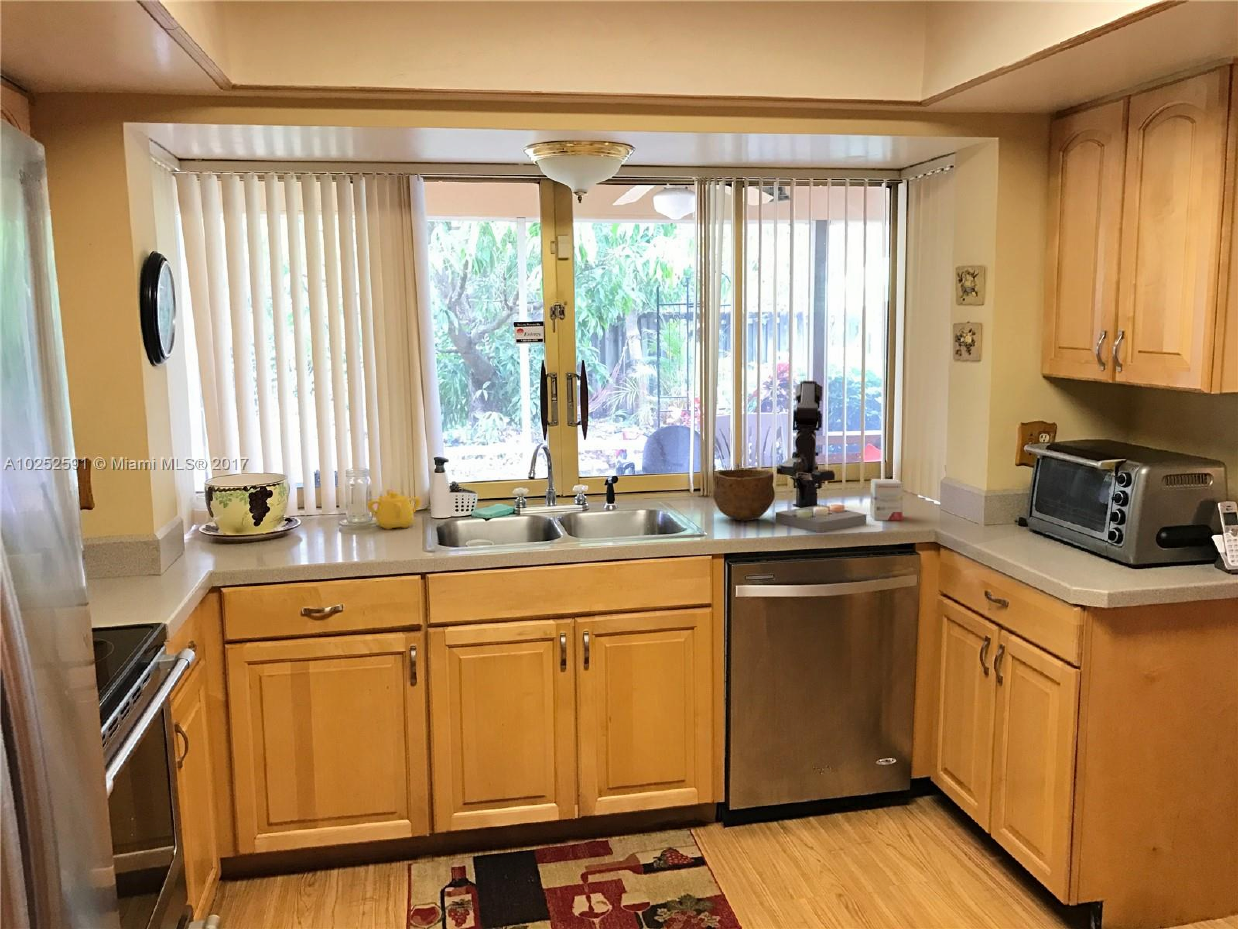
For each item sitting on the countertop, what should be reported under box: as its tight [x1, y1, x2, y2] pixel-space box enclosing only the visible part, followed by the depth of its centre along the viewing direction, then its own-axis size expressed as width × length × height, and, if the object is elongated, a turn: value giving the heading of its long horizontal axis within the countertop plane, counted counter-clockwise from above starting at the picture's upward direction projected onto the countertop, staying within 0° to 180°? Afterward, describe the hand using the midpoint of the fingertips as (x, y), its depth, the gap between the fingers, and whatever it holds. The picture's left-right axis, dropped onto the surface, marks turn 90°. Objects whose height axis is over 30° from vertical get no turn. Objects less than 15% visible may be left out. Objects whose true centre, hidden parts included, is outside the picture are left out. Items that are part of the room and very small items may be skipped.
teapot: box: [366, 489, 422, 530], centre depth 290 cm, size 14×13×10 cm
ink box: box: [869, 478, 904, 521], centre depth 300 cm, size 9×9×12 cm
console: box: [774, 504, 867, 533], centre depth 293 cm, size 18×20×3 cm
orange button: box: [829, 503, 846, 513], centre depth 297 cm, size 4×4×3 cm
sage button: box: [797, 510, 812, 519], centre depth 289 cm, size 4×4×3 cm
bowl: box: [712, 468, 776, 521], centre depth 297 cm, size 19×19×15 cm
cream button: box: [813, 507, 828, 516], centre depth 293 cm, size 4×4×3 cm
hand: (804, 501), depth 288 cm, fingers closed
